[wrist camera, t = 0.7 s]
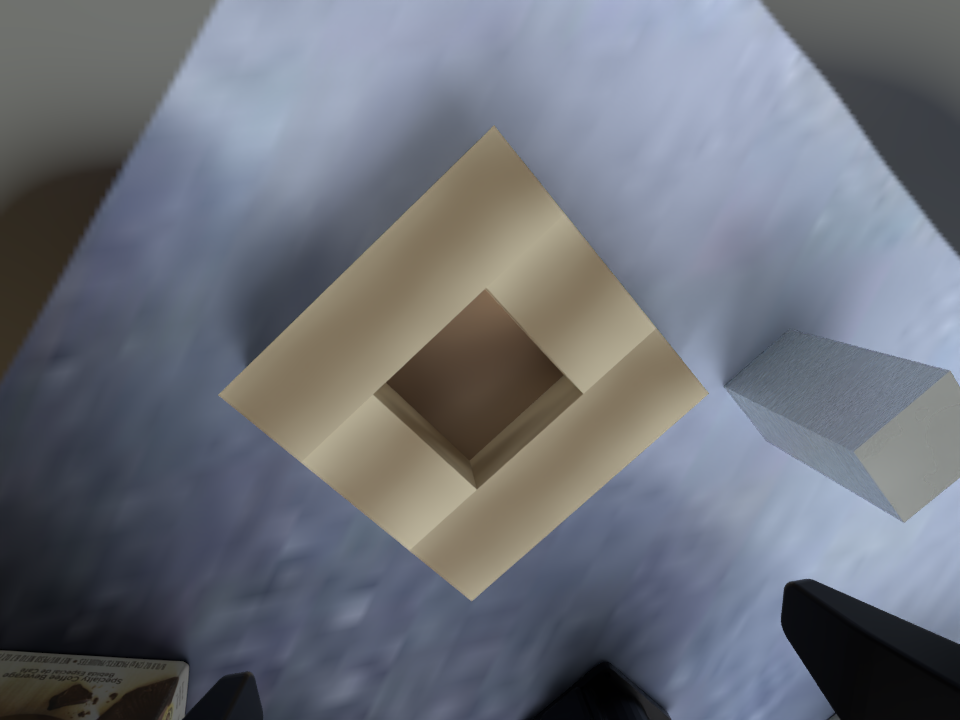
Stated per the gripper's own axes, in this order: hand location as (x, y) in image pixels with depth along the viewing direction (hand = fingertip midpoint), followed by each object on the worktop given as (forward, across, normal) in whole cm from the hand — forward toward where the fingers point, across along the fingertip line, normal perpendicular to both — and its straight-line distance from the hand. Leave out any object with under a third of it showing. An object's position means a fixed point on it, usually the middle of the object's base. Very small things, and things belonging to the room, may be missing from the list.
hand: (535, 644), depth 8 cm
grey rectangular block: (+14, -15, +2) cm, 21 cm away
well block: (+14, -1, -1) cm, 14 cm away
